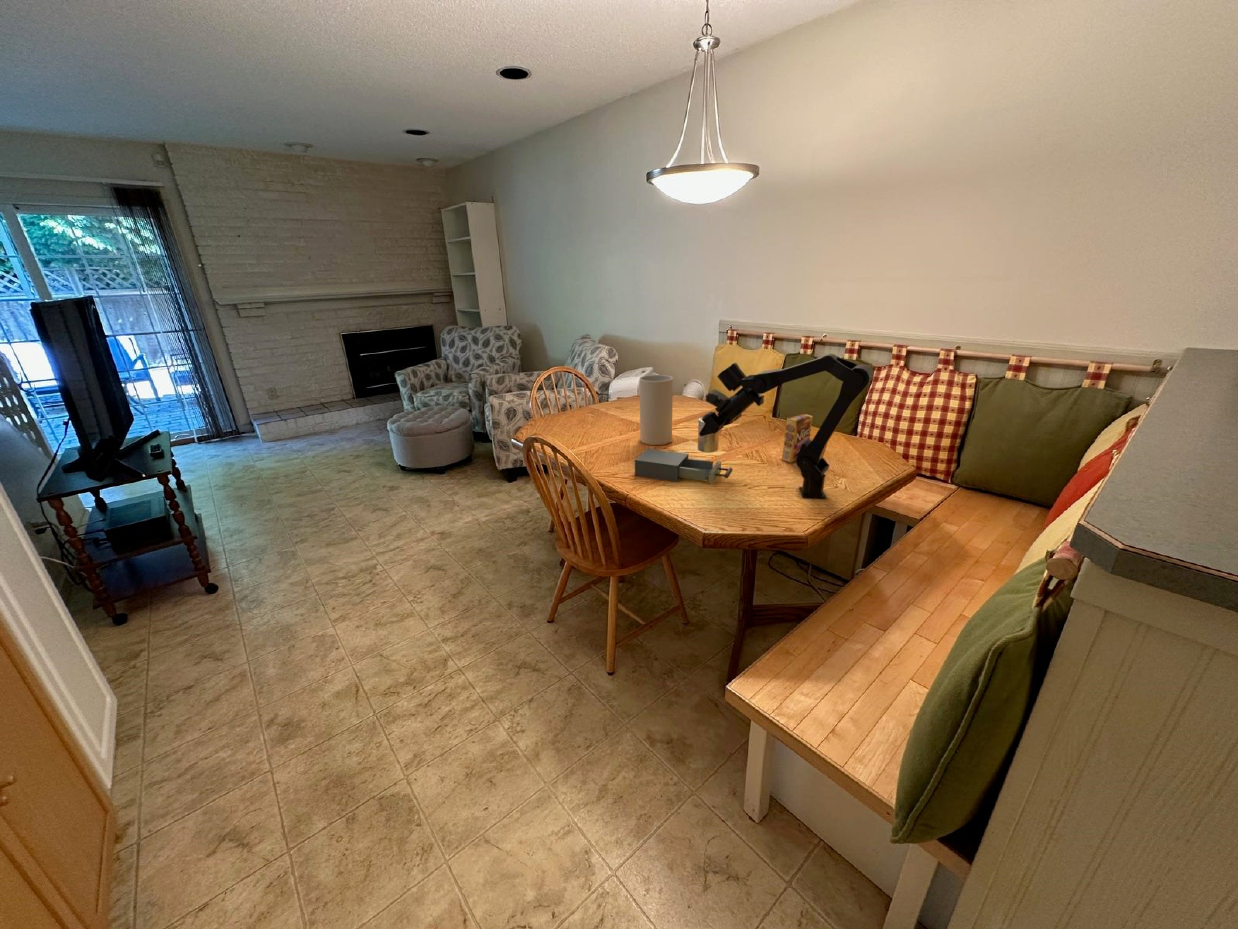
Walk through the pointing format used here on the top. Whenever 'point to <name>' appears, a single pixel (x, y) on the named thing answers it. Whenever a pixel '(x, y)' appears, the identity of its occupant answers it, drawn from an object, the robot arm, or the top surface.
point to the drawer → (702, 470)
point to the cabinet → (659, 464)
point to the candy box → (796, 435)
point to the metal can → (707, 440)
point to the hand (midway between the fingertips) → (704, 432)
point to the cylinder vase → (656, 409)
